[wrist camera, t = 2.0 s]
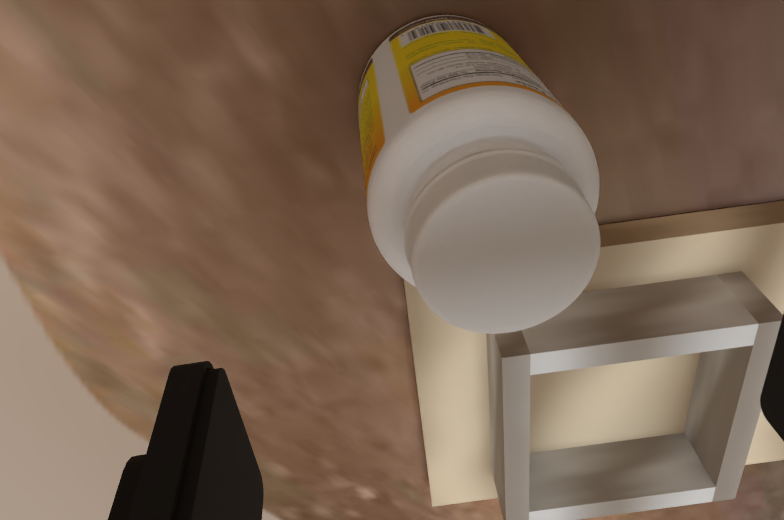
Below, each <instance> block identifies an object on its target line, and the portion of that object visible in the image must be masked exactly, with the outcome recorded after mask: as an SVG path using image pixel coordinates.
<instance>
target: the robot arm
mask: <svg viewBox="0 0 784 520" xmlns="http://www.w3.org/2000/svg"><path fill="white" fill-rule="evenodd" d="M760 405H761V409H762V412H763V414H764V416H765V418H766V420H767V421H768V422H769V424H770V425H771V426H772V427H773V429H774V430H775V431H776V432H777V434H778V435H779V436H780V438H781V439H782V440H783V441H784V314H783V317H782V321H781V324H780V328H779V332H778V335H777V339H776V342H775V346H774V350H773V353H772V357H771V360H770V364H769V368H768V371H767V375H766V378H765V382H764V385H763V389H762V393H761V397H760ZM262 508H263V482H262V477H261V473H260V470H259V467H258V464H257V462H256V459H255V456H254V453H253V450H252V447H251V444H250V441H249V438H248V436H247V433H246V430H245V427H244V424H243V421H242V418H241V415H240V412H239V409H238V407H237V404H236V401H235V398H234V395H233V392H232V389H231V386H230V383H229V381H228V378H227V375H226V372H225V370H224V369H223V368H218V369H214V368H213V366H212V364H211V363H210V362H209V361H204V362H198V363H191V364H184V365H178V366H173V367H172V368H171V370H170V373H169V376H168V379H167V383H166V386H165V390H164V393H163V397H162V401H161V404H160V408H159V411H158V415H157V418H156V422H155V425H154V429H153V432H152V436H151V439H150V443H149V446H148V450H147V454H145V455H139V456H134V457H131V458H130V459H129V460H128V462H127V463H126V466H125V468H124V470H123V473H122V476H121V479H120V483H119V486H118V489H117V492H116V495H115V499H114V502H113V505H112V508H111V511H110V514H109V518H108V520H261V519H262Z"/></svg>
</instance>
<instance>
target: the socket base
mask: <svg viewBox="0 0 784 520" xmlns="http://www.w3.org/2000/svg"><path fill="white" fill-rule="evenodd" d="M598 226H599V231H600V239H601V244H600V255H599V259H598V263H597V266H596V269H595V271H594V273H593V275H592V277H591V280H590V281H589V283H588V285H587V286H586V287H585V289H584V290H583V291H582V293H581V294H580V295H579V296H578V297H577V298H576V299H575V301H573V302H572V303H571V304H570V305H569V306H568V307H567V308H566V309H564V310H563V311H561V312H560V313H558V314H557V315H555V316H554V317H552V318H550V319H548V320H546V321H545V322H543V323H540V324H538V325H536V326H533V327H530V328H527V329H523V330H520V331H516V332H508V333H499V334H487V333H477V332H472V331H468V330H465V329H461V328H459V327H456V326H453V325H452V324H450V323H448V322H446V321H444V320H443V319H441V318H440V317H438V316H437V315H436V314H435V313H434V312H432V311H431V310H430V309H429V307H428V306H427V305H426V304H425V302H424V301H423V299H422V298H421V297H420V295H419V293H418V291H417V289H416V287H415V286H413V285H411V284H410V283H408V282H407V281H406V280H405V279H403V282H404V290H405V298H406V305H407V313H408V321H409V329H410V337H411V345H412V353H413V361H414V368H415V376H416V384H417V392H418V400H419V408H420V416H421V424H422V432H423V439H424V447H425V455H426V463H427V471H428V479H429V486H430V493H431V500H432V507H433V506H440V505H448V504H455V503H463V502H470V501H478V500H485V499H493V498H499V502H500V506H501V511H502V515H503V519H504V520H578V519H586V518H593V517H601V516H608V515H616V514H623V513H631V512H638V511H646V510H653V509H661V508H668V507H676V506H683V505H691V504H698V503H706V502H713V501H721V500H728V499H735V497H736V493H737V490H738V487H739V483H740V480H741V476H742V473H743V470H744V466H745V465H748V464H755V463H763V462H770V461H778V460H784V441H783V440H782V439H781V438H780V436H779V435H778V434H777V432H776V431H775V430H774V429H773V427H772V426H771V425H770V424H769V422H768V421H767V420H766V418H765V416H764V414H763V412H762V409H761V405H760V397H761V393H762V389H763V385H764V382H765V378H766V375H767V371H768V368H769V364H770V360H771V357H772V353H773V350H774V346H775V342H776V339H777V335H778V332H779V328H780V324H781V321H782V317H783V314H784V200H783V201H776V202H768V203H761V204H753V205H746V206H739V207H731V208H724V209H716V210H709V211H701V212H694V213H686V214H679V215H672V216H664V217H657V218H649V219H642V220H634V221H627V222H620V223H612V224H605V225H598Z"/></svg>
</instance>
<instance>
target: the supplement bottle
mask: <svg viewBox="0 0 784 520" xmlns="http://www.w3.org/2000/svg"><path fill="white" fill-rule="evenodd" d="M358 118H359V129H360V138H361V150H362V159H363V169H364V179H365V190H366V202H367V213H368V219H369V224H370V228H371V232H372V235H373V238H374V241H375V243H376V245H377V247H378V249H379V251H380V253H381V254H382V256H383V257H384V259H385V260H386V262H387V263H388V264H389V265H390V266H391V267H392V269H393V270H394V271H395V272H396V273H398V274H399V275H400V276H401V277H402V278H403V279H405V280H406V281H407V282H408V283H410V284H411V285H413V286H415V287H416V289H417V291H418V293H419V295H420V297H421V298H422V299H423V301H424V302H425V304H426V305H427V306H428V307H429V309H430V310H431V311H432V312H434V313H435V314H436V315H437V316H438V317H440V318H441V319H443V320H444V321H446V322H448V323H450V324H452V325H453V326H456V327H459V328H461V329H465V330H468V331H472V332H477V333H487V334H499V333H508V332H516V331H520V330H523V329H527V328H530V327H533V326H536V325H538V324H540V323H543V322H545V321H546V320H548V319H550V318H552V317H554V316H555V315H557V314H558V313H560V312H561V311H563V310H564V309H566V308H567V307H568V306H569V305H570V304H571V303H572V302H573V301H575V299H576V298H577V297H578V296H579V295H580V294H581V293H582V291H583V290H584V289H585V287H586V286H587V285H588V283H589V281H590V280H591V277H592V275H593V273H594V271H595V269H596V266H597V263H598V259H599V255H600V244H601V239H600V231H599V226H598V222H597V220H596V217H595V212H596V209H597V205H598V198H599V171H598V166H597V162H596V158H595V154H594V152H593V149H592V147H591V145H590V143H589V141H588V139H587V137H586V135H585V134H584V132H583V131H582V129H581V128H580V126H579V125H578V123H577V122H576V121H575V120H574V118H573V117H572V116H571V115H570V114H569V113H568V112H567V111H566V109H565V108H564V107H563V106H562V105H561V104H560V103H559V102H558V100H557V99H556V98H555V97H554V96H553V95H552V93H551V92H550V91H549V90H548V89H547V88H546V86H545V85H544V84H543V83H542V82H541V80H540V79H539V78H538V77H537V76H536V75H535V74H534V73H533V72H532V70H531V69H530V68H529V67H528V66H527V65H526V64H525V63H524V61H523V60H522V59H521V58H520V57H519V56H518V55H517V53H516V52H515V51H514V50H513V49H512V47H511V46H510V45H509V44H508V43H507V42H506V41H505V40H504V39H503V38H502V37H501V36H500V35H499V34H497V33H496V32H495V31H494V30H492V29H491V28H489V27H487V26H486V25H484V24H482V23H480V22H478V21H475V20H473V19H470V18H466V17H461V16H455V15H437V16H430V17H426V18H422V19H419V20H416V21H413V22H411V23H409V24H407V25H405V26H403V27H402V28H400V29H398V30H397V31H395V32H394V33H393V34H391V35H390V36H389V37H388V38H387V39H386V40H385V41H384V42H383V43H382V44H381V45H380V46H379V47H378V48H377V50H376V51H375V52H374V54H373V55H372V56H371V58H370V60H369V62H368V64H367V66H366V68H365V70H364V73H363V75H362V79H361V82H360V87H359V94H358Z"/></svg>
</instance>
